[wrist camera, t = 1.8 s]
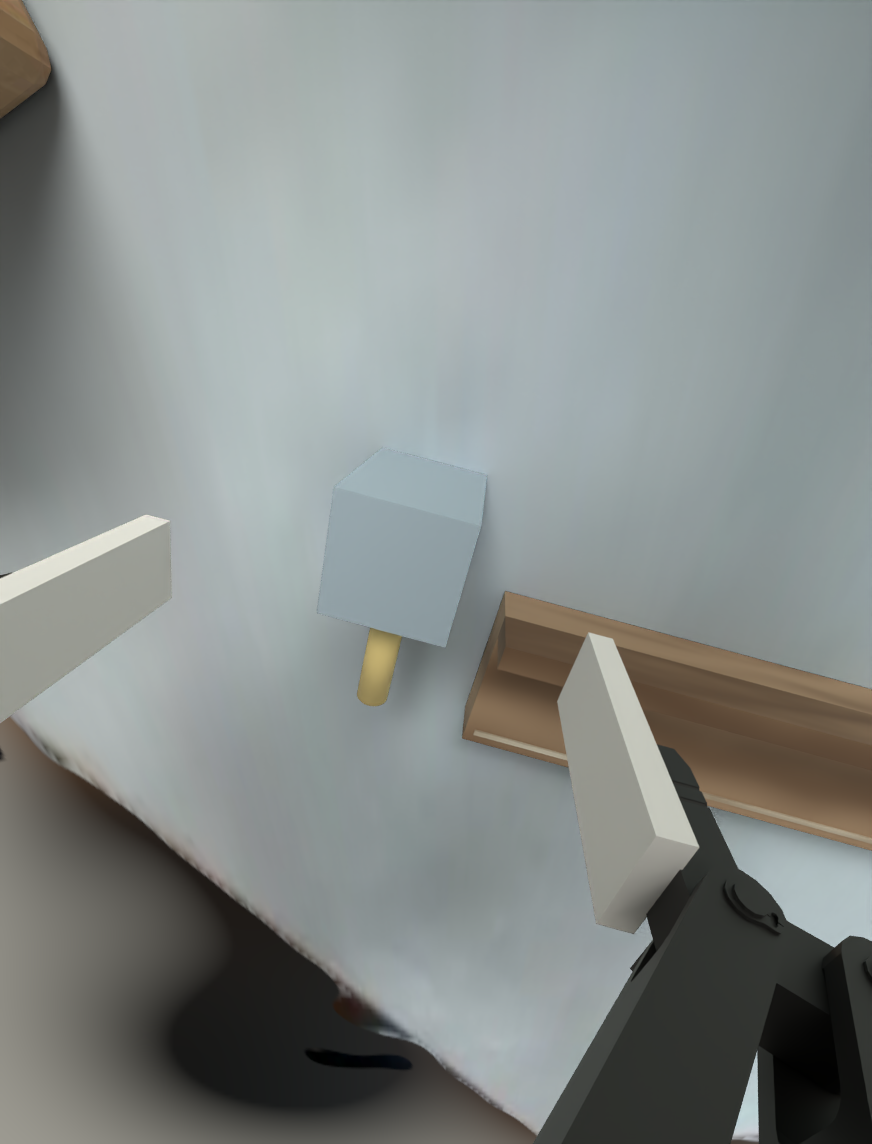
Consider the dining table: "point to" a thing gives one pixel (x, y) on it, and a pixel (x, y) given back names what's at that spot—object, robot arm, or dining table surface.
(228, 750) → the dining table surface
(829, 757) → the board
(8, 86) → the wooden block
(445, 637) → the grey cube mallet
